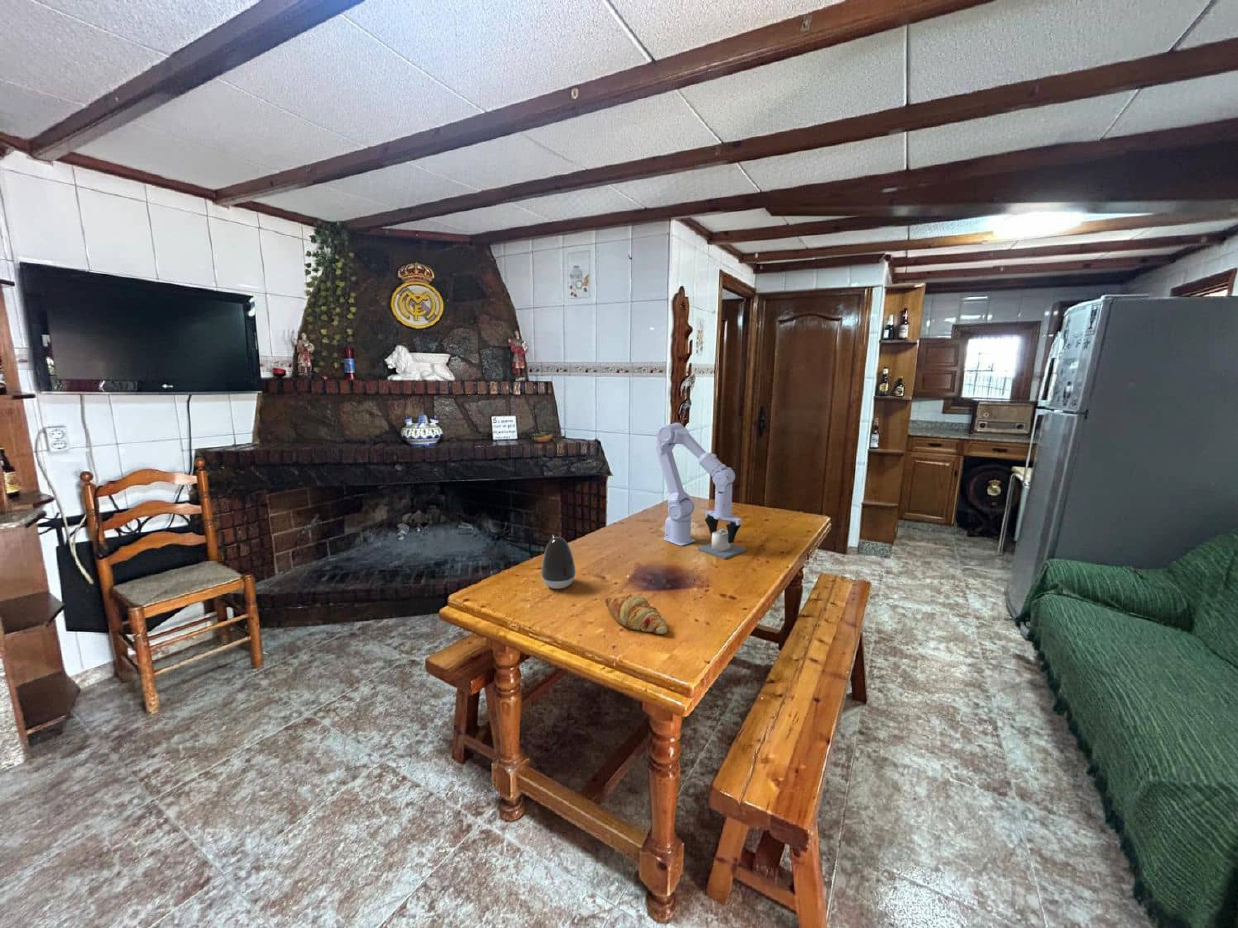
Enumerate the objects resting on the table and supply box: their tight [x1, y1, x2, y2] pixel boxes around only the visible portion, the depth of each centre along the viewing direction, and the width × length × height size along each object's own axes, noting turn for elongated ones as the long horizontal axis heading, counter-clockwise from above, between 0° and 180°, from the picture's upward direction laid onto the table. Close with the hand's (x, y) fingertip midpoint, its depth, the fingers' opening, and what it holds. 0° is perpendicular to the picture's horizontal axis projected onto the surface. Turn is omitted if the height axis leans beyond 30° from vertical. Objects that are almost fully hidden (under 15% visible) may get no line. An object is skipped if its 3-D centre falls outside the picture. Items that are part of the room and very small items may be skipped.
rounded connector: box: [711, 528, 732, 552], centre depth 176 cm, size 4×9×7 cm, turn 130°
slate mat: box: [697, 542, 747, 560], centre depth 177 cm, size 12×12×1 cm
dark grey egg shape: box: [541, 534, 577, 590], centre depth 150 cm, size 10×10×15 cm
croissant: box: [604, 593, 668, 635], centre depth 129 cm, size 21×10×8 cm, turn 47°
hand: (722, 539), depth 177 cm, fingers open, 7 cm apart
